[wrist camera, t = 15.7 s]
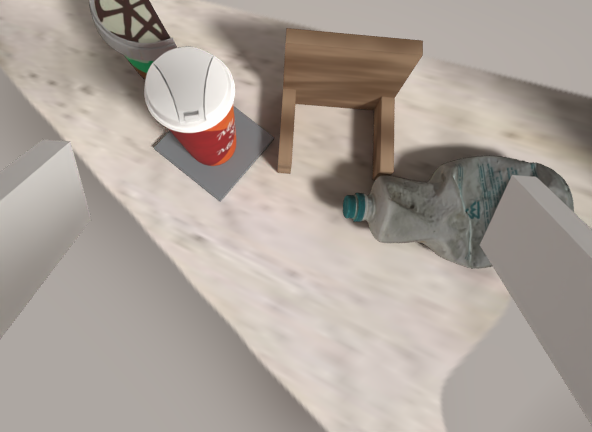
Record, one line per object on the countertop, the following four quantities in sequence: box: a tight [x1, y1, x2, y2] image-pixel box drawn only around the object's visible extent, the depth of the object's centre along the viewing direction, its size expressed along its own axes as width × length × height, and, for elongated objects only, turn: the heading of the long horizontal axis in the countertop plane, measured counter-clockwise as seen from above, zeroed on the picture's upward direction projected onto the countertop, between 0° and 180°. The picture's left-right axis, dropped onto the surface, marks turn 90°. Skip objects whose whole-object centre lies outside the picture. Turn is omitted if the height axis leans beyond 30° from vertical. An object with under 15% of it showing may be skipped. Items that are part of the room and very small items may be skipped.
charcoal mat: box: [154, 106, 274, 201], centre depth 46 cm, size 10×10×1 cm
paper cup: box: [144, 46, 236, 166], centre depth 38 cm, size 8×8×14 cm
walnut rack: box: [278, 28, 423, 180], centre depth 41 cm, size 10×13×12 cm
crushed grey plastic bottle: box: [343, 156, 574, 269], centre depth 43 cm, size 13×7×25 cm
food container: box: [89, 0, 177, 80], centre depth 42 cm, size 12×6×10 cm, turn 29°
